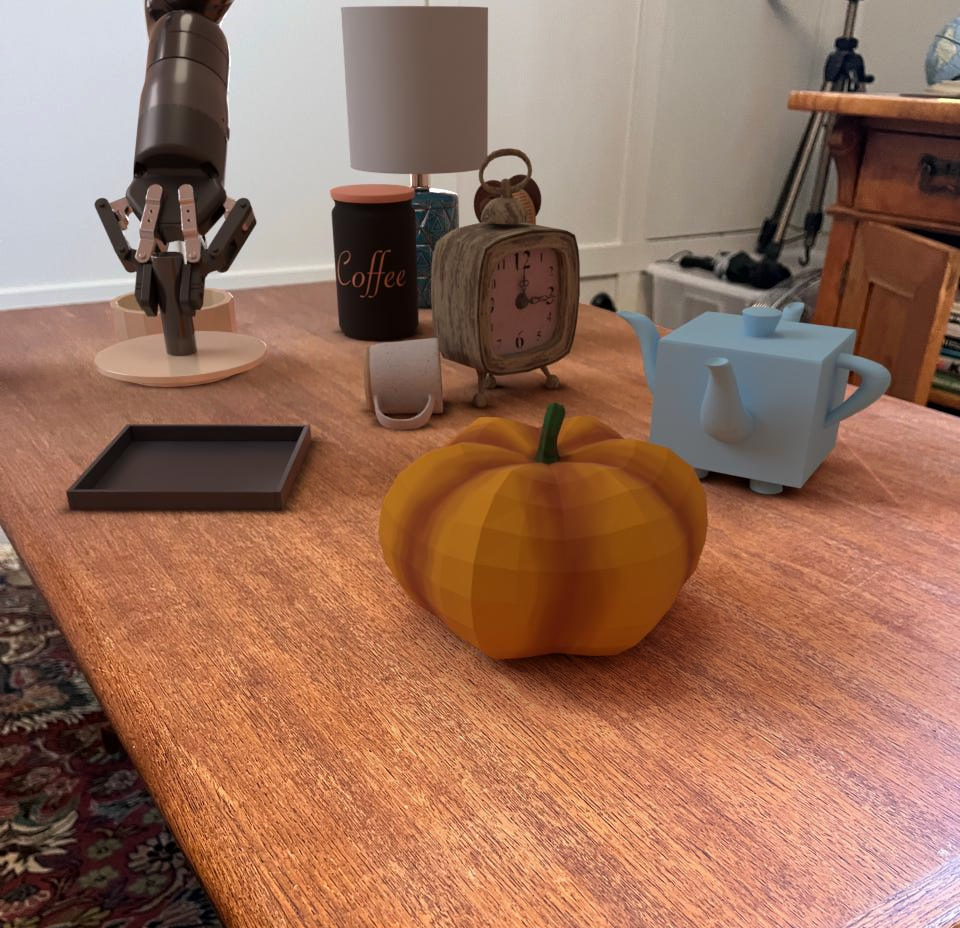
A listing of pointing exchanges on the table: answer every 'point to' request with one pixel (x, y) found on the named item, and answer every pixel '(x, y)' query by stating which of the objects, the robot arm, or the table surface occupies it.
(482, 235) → the tabletop clock
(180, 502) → the tray
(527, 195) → the dark rounded piece
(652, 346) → the teakettle
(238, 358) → the lid
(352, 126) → the lamp
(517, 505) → the decorative pumpkin
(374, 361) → the ceramic mug
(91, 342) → the table surface
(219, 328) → the canister
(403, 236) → the coffee jar
